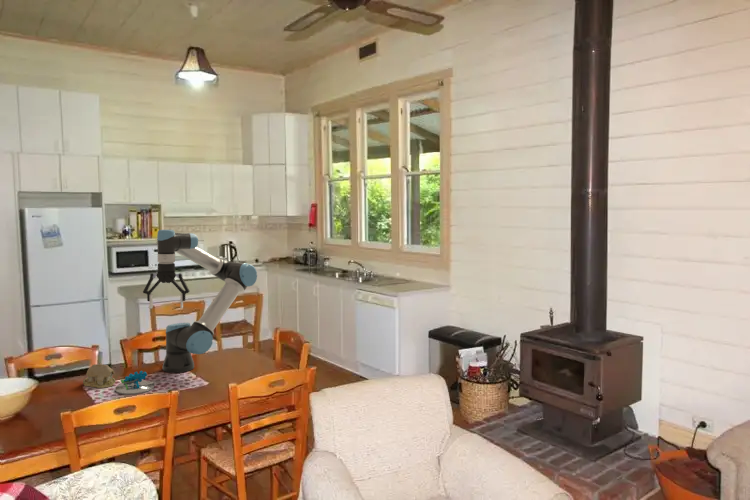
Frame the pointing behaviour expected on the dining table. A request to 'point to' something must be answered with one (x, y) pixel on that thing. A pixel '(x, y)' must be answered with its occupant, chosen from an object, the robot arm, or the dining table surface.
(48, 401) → the dining table surface
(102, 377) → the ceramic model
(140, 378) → the gear
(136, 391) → the hub plate
